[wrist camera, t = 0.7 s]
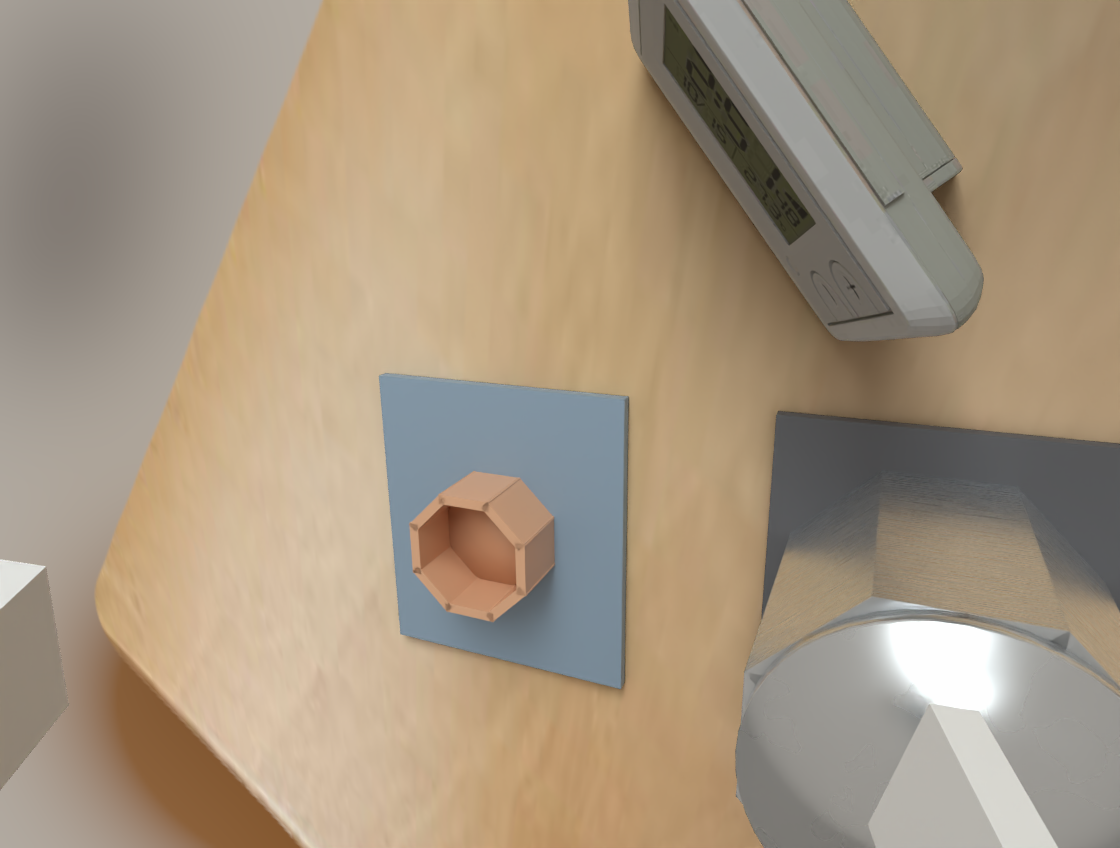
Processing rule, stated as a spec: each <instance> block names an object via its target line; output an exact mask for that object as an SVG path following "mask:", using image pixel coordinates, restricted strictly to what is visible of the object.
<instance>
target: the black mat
mask: <svg viewBox="0 0 1120 848" xmlns="http://www.w3.org/2000/svg"><path fill="white" fill-rule="evenodd" d="M881 471H890V472H898V473H906V474H915V475H923V476H932V477H940V478H948V479H957V480H965V481H974V482H982V483H990V484H999V485H1007V486H1016V487H1018V488H1019V489H1020V490H1021V491H1022V493H1023V494H1024V495H1025V496H1026V497H1027V498H1028V499H1029V500H1030V501H1031V502H1032V503H1033V504H1034V506H1035V507H1036V508H1037V509H1038V510H1039V511H1040V512H1041V513H1042V514H1043V515H1044V516H1045V518H1046V519H1047V520H1048V521H1049V522H1050V523H1051V524H1052V525H1053V526H1054V527H1055V528H1056V529H1057V531H1058V532H1059V533H1060V534H1061V535H1062V536H1063V537H1064V538H1065V539H1066V540H1067V541H1068V543H1069V544H1070V545H1071V546H1072V547H1073V548H1074V549H1075V550H1076V551H1077V552H1078V553H1079V554H1080V556H1081V557H1082V558H1083V559H1084V560H1085V561H1086V562H1087V563H1088V564H1089V565H1090V566H1091V568H1092V569H1093V570H1094V571H1095V572H1096V573H1097V574H1098V575H1099V576H1100V577H1101V578H1102V579H1103V581H1105V583H1106V585H1107V587H1108V589H1109V591H1110V593H1111V595H1112V597H1113V599H1114V601H1115V603H1116V605H1117V607H1118V609H1119V611H1120V444H1116V443H1106V442H1095V441H1085V440H1074V439H1064V438H1054V437H1043V436H1033V435H1023V434H1012V433H1002V432H991V431H981V430H971V429H960V428H950V427H939V426H929V425H919V424H908V423H898V422H887V421H877V420H867V419H856V418H846V417H835V416H825V415H815V414H804V413H794V412H783V411H778V413H777V415H776V428H775V442H774V455H773V469H772V483H771V496H770V510H769V524H768V537H767V551H766V565H765V578H764V592H763V606H762V617H763V614H764V611H765V608H766V605H767V602H768V599H769V596H770V593H771V590H772V587H773V584H774V581H775V578H776V575H777V572H778V569H779V566H780V563H781V560H782V557H783V554H784V551H785V548H786V545H787V542H788V539H789V536H790V533H792V532H793V531H795V530H796V529H798V528H799V527H801V526H802V525H804V524H805V523H807V522H808V521H809V520H811V519H812V518H814V517H815V516H817V515H818V514H820V513H821V512H823V511H824V510H826V509H827V508H829V507H830V506H831V505H833V504H834V503H836V502H837V501H839V500H840V499H842V498H843V497H845V496H846V495H848V494H849V493H851V492H852V491H853V490H855V489H856V488H858V487H859V486H861V485H862V484H864V483H865V482H867V481H868V480H870V479H871V478H873V477H874V476H876V475H877V474H878V473H880V472H881ZM761 620H762V619H761Z"/></svg>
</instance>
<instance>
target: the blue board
mask: <svg viewBox="0 0 1120 848" xmlns="http://www.w3.org/2000/svg"><path fill="white" fill-rule="evenodd" d="M379 382H380V394H381V406H382V418H383V430H384V442H385V454H386V466H387V478H388V490H389V502H390V514H391V526H392V538H393V549H394V561H395V573H396V585H397V597H398V609H399V621H400V633H401V634H402V635H406V636H410V637H414V638H418V639H422V640H426V641H430V642H434V643H438V644H442V645H446V646H450V647H454V648H458V649H462V650H466V651H470V652H474V653H478V654H482V655H486V656H490V657H494V658H498V659H502V660H506V661H510V662H514V663H518V664H522V665H526V666H530V667H534V668H538V669H542V670H546V671H550V672H554V673H558V674H562V675H566V676H570V677H574V678H578V679H582V680H586V681H590V682H594V683H598V684H602V685H606V686H610V687H614V688H618V689H621V688H622V686H623V684H624V681H625V611H626V541H627V471H628V401H629V397H628V396H617V395H607V394H596V393H586V392H576V391H565V390H555V389H544V388H534V387H524V386H513V385H503V384H493V383H482V382H472V381H461V380H451V379H441V378H430V377H420V376H409V375H399V374H389V373H385V374H382V375H379ZM473 471H476V472H483V473H490V474H497V475H503V476H510V477H517V478H521V480H522V481H523V482H524V483H525V484H526V486H527V487H528V488H529V489H530V490H531V491H532V493H533V494H534V495H535V496H536V497H537V498H538V499H539V501H540V502H541V503H542V504H543V505H544V506H545V508H546V509H547V510H548V511H549V512H550V513H551V514H552V516H554V552H555V565H554V567H553V568H552V569H551V570H550V571H549V572H548V573H547V574H546V575H545V576H544V577H543V578H542V580H541V581H540V582H539V583H538V584H537V585H536V586H535V587H534V588H533V589H532V590H531V591H530V593H529V594H528V595H527V596H525V597H523V598H522V599H521V600H520V601H518V602H517V603H516V604H515V605H513V606H512V607H511V608H510V609H508V610H507V611H506V612H505V613H503V614H502V615H501V616H500V617H498V618H497V619H496V620H495V621H494V622H491V621H486V620H482V619H478V618H473V617H469V616H465V615H460V614H456V613H451V612H447V611H446V610H445V609H444V608H443V607H442V605H441V604H440V603H439V602H438V601H437V599H436V598H435V597H434V596H433V595H432V594H431V592H430V591H429V590H428V589H427V588H426V586H425V585H424V584H423V583H422V582H421V581H420V579H419V578H418V577H417V576H416V575H415V574H414V573H413V566H412V553H411V540H410V526H409V523H410V522H412V521H413V520H414V519H415V518H416V517H417V516H418V515H419V514H420V513H421V512H422V511H423V510H424V509H425V508H426V507H427V506H428V505H429V504H430V503H431V502H432V501H433V500H434V499H435V498H436V497H437V496H438V494H440V493H441V492H443V491H444V490H446V489H447V488H449V487H450V486H452V485H453V484H455V483H456V482H458V481H459V480H461V479H462V478H464V477H465V476H467V475H468V474H470V473H471V472H473Z"/></svg>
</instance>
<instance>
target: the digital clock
mask: <svg viewBox="0 0 1120 848" xmlns="http://www.w3.org/2000/svg"><path fill="white" fill-rule="evenodd" d="M628 4H629V18H630V32H631V39H632V43H633V46H634V49H635V51H636V53H637V55H638V56H639V58H640V59H641V61H642V63H643V64H644V66H645V67H646V69H647V70H648V72H649V73H650V74H651V76H652V77H653V79H654V80H655V82H656V83H657V85H658V86H659V88H660V89H661V91H662V92H663V94H664V95H665V97H666V98H667V99H668V101H669V102H670V104H671V105H672V107H673V108H674V110H675V111H676V112H677V114H678V115H679V117H680V118H681V120H682V121H683V123H684V124H685V125H686V127H687V128H688V130H689V131H690V133H691V134H692V136H693V137H694V138H695V140H696V141H697V143H698V144H699V146H700V147H701V149H702V150H703V152H704V153H705V154H706V156H707V157H708V159H709V160H710V162H711V163H712V165H713V166H714V167H715V169H716V170H717V172H718V173H719V175H720V176H721V178H722V179H723V180H724V182H725V183H726V185H727V186H728V188H729V189H730V191H731V192H732V193H733V195H734V196H735V198H736V199H737V201H738V202H739V204H740V205H741V207H742V208H743V209H744V211H745V212H746V214H747V215H748V217H749V218H750V220H751V221H752V222H753V224H754V225H755V227H756V228H757V230H758V231H759V233H760V234H761V235H762V237H763V238H764V240H765V241H766V243H767V244H768V246H769V247H770V248H771V250H772V251H773V253H774V254H775V256H776V257H777V259H778V260H779V261H780V263H781V264H782V266H783V267H784V269H785V270H786V272H787V273H788V275H789V276H790V277H791V279H792V280H793V282H794V283H795V285H796V286H797V288H798V289H799V290H800V292H801V293H802V295H803V296H804V298H805V299H806V300H807V302H808V303H809V305H810V306H811V308H812V309H813V310H814V312H815V313H816V315H817V316H818V318H819V319H820V320H821V322H822V323H823V325H824V326H825V327H826V329H827V330H828V331H829V332H830V333H831V335H832V336H833V337H835V338H836V339H838V340H841V341H877V340H890V339H903V338H916V337H929V336H939V335H945V334H949V333H952V332H954V331H955V330H956V329H958V328H959V327H961V326H962V325H963V324H964V323H965V322H966V321H967V320H968V319H969V318H970V317H971V315H972V314H973V313H974V311H975V310H976V308H977V305H978V303H979V300H980V297H981V293H982V288H983V281H984V278H983V273H982V270H981V267H980V266H979V264H978V262H977V260H976V258H975V257H974V255H973V254H972V252H971V251H970V249H969V248H968V246H967V245H966V243H965V242H964V240H963V239H962V237H961V236H960V234H959V233H958V231H957V230H956V228H955V227H954V226H953V224H952V223H951V221H950V220H949V218H948V217H947V215H946V214H945V212H944V211H943V209H942V208H941V206H940V205H939V203H938V202H937V200H936V199H935V197H934V196H933V195H932V193H931V192H933V191H934V190H935V189H937V188H938V187H940V186H941V185H942V184H944V183H945V182H947V181H948V180H950V179H951V178H953V177H954V176H955V175H957V174H958V173H959V172H960V171H961V170H962V169H963V168H962V166H961V164H960V163H959V161H958V160H957V158H954V157H955V156H954V154H953V153H952V152H951V150H950V149H949V147H948V146H947V144H946V143H945V141H944V140H943V139H942V137H941V136H940V134H939V133H938V131H937V130H936V128H935V127H934V126H933V124H932V123H931V121H930V120H929V118H928V117H927V115H926V114H925V112H924V111H923V110H922V108H921V107H920V105H919V104H918V102H917V101H916V99H915V98H914V97H913V95H912V94H911V92H910V91H909V89H908V88H907V86H906V85H905V84H904V82H903V81H902V79H901V78H900V76H899V75H898V73H897V72H896V70H895V69H894V68H893V66H892V65H891V63H890V62H889V60H888V59H887V57H886V56H885V55H884V53H883V52H882V50H881V49H880V47H879V46H878V44H877V43H876V42H875V40H874V39H873V37H872V36H871V34H870V33H869V31H868V30H867V28H866V27H865V26H864V24H863V23H862V21H861V20H860V18H859V17H858V15H857V14H856V13H855V11H854V10H853V8H852V7H851V5H850V4H849V2H848V1H847V0H628ZM953 158H954V159H953Z"/></svg>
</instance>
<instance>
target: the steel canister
mask: <svg viewBox="0 0 1120 848" xmlns="http://www.w3.org/2000/svg"><path fill="white" fill-rule="evenodd" d="M929 703H931V704H937V705H944V706H950V707H957V708H963V709H970V710H976V711H979V712H980V714H981V715H982V717H983V719H984V720H985V722H986V724H987V726H988V727H989V729H990V731H991V733H992V734H993V736H994V738H995V739H996V741H997V743H998V745H999V746H1000V748H1001V750H1002V752H1003V753H1004V755H1005V757H1006V758H1007V760H1008V762H1009V764H1010V765H1011V767H1012V769H1013V771H1014V772H1015V774H1016V776H1017V777H1018V779H1019V781H1020V783H1021V784H1022V786H1023V788H1024V790H1025V791H1026V793H1027V795H1028V796H1029V798H1030V800H1031V802H1032V803H1033V805H1034V807H1035V809H1036V810H1037V812H1038V814H1039V815H1040V817H1041V819H1042V821H1043V822H1044V824H1045V826H1046V828H1047V829H1048V831H1049V833H1050V834H1051V836H1052V838H1053V840H1054V841H1055V843H1056V845H1057V847H1058V848H1120V611H1119V609H1118V607H1117V605H1116V603H1115V601H1114V599H1113V597H1112V595H1111V593H1110V591H1109V589H1108V587H1107V585H1106V583H1105V581H1103V579H1102V578H1101V577H1100V576H1099V575H1098V574H1097V573H1096V572H1095V571H1094V570H1093V569H1092V568H1091V566H1090V565H1089V564H1088V563H1087V562H1086V561H1085V560H1084V559H1083V558H1082V557H1081V556H1080V554H1079V553H1078V552H1077V551H1076V550H1075V549H1074V548H1073V547H1072V546H1071V545H1070V544H1069V543H1068V541H1067V540H1066V539H1065V538H1064V537H1063V536H1062V535H1061V534H1060V533H1059V532H1058V531H1057V529H1056V528H1055V527H1054V526H1053V525H1052V524H1051V523H1050V522H1049V521H1048V520H1047V519H1046V518H1045V516H1044V515H1043V514H1042V513H1041V512H1040V511H1039V510H1038V509H1037V508H1036V507H1035V506H1034V504H1033V503H1032V502H1031V501H1030V500H1029V499H1028V498H1027V497H1026V496H1025V495H1024V494H1023V493H1022V491H1021V490H1020V489H1019V488H1018V487H1016V486H1007V485H999V484H990V483H982V482H974V481H965V480H957V479H948V478H940V477H932V476H923V475H915V474H906V473H898V472H890V471H881V472H880V473H878V474H877V475H876V476H874V477H873V478H871V479H870V480H868V481H867V482H865V483H864V484H862V485H861V486H859V487H858V488H856V489H855V490H853V491H852V492H851V493H849V494H848V495H846V496H845V497H843V498H842V499H840V500H839V501H837V502H836V503H834V504H833V505H831V506H830V507H829V508H827V509H826V510H824V511H823V512H821V513H820V514H818V515H817V516H815V517H814V518H812V519H811V520H809V521H808V522H807V523H805V524H804V525H802V526H801V527H799V528H798V529H796V530H795V531H793V532H792V533H790V536H789V539H788V542H787V545H786V548H785V551H784V554H783V557H782V560H781V563H780V566H779V569H778V572H777V575H776V578H775V581H774V584H773V587H772V590H771V593H770V596H769V599H768V602H767V605H766V608H765V611H764V614H763V617H762V620H761V623H760V626H759V629H758V632H757V635H756V638H755V641H754V644H753V647H752V650H751V653H750V656H749V659H748V662H747V665H746V668H745V671H744V686H743V701H742V716H741V725H740V728H739V731H738V738H737V744H736V751H735V753H736V776H737V790H736V797H737V798H738V799H739V800H740V802H741V803H742V804H743V806H744V809H745V812H746V815H747V817H748V819H749V821H750V823H751V826H752V828H753V830H754V832H755V834H756V835H757V837H758V839H759V840H760V842H761V844H762V845H763V847H764V848H876V846H875V843H874V841H873V838H872V835H871V832H870V829H869V826H868V823H869V821H870V819H871V817H872V815H873V813H874V811H875V809H876V807H877V805H878V804H879V802H880V800H881V798H882V796H883V794H884V792H885V790H886V788H887V786H888V784H889V782H890V780H891V778H892V776H893V774H894V772H895V770H896V768H897V766H898V764H899V762H900V760H901V758H902V756H903V754H904V752H905V750H906V748H907V746H908V744H909V742H910V740H911V739H912V737H913V735H914V733H915V731H916V729H917V727H918V725H919V723H920V721H921V719H922V717H923V715H924V713H925V711H926V709H927V707H928V705H929Z"/></svg>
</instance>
